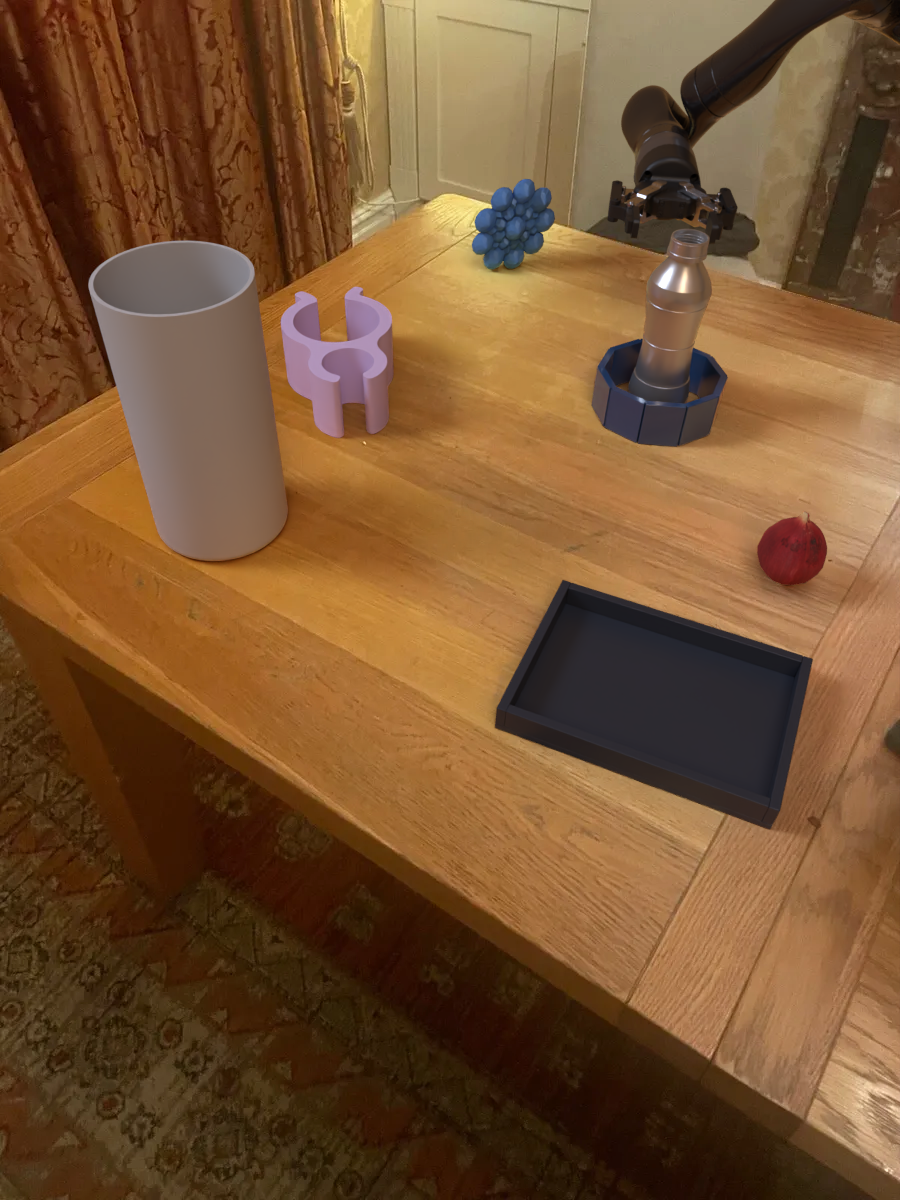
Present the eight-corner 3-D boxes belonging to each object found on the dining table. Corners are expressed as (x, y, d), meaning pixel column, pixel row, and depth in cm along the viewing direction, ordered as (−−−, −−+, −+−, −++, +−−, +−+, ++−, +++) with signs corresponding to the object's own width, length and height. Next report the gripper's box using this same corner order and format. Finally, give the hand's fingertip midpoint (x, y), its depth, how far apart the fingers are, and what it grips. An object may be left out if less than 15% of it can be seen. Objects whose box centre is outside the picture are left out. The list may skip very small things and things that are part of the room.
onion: (824, 596, 83) (854, 530, 77) (769, 609, 81) (795, 542, 76) (790, 554, 86) (816, 489, 81) (736, 565, 85) (759, 499, 79)
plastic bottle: (678, 431, 100) (720, 256, 86) (618, 418, 102) (650, 244, 87) (688, 401, 104) (730, 229, 90) (630, 389, 106) (662, 218, 91)
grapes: (539, 250, 131) (547, 163, 122) (555, 271, 126) (565, 183, 118) (461, 259, 128) (464, 171, 120) (476, 281, 124) (480, 191, 115)
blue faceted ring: (726, 393, 106) (737, 354, 102) (698, 459, 97) (709, 420, 93) (614, 365, 109) (621, 327, 106) (577, 427, 100) (583, 388, 97)
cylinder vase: (131, 544, 86) (53, 296, 68) (203, 469, 94) (151, 230, 76) (247, 580, 82) (197, 330, 65) (311, 499, 91) (283, 257, 73)
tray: (803, 678, 76) (813, 658, 74) (770, 830, 66) (780, 811, 64) (559, 599, 82) (562, 579, 80) (494, 728, 72) (496, 707, 70)
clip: (412, 429, 99) (412, 374, 94) (298, 442, 97) (291, 386, 92) (382, 337, 113) (380, 284, 108) (281, 346, 111) (275, 293, 106)
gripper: (612, 139, 108) (614, 193, 97) (732, 146, 108) (749, 202, 96) (603, 202, 114) (604, 261, 103) (717, 209, 113) (731, 270, 102)
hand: (674, 232), depth 100 cm, fingers open, 8 cm apart
